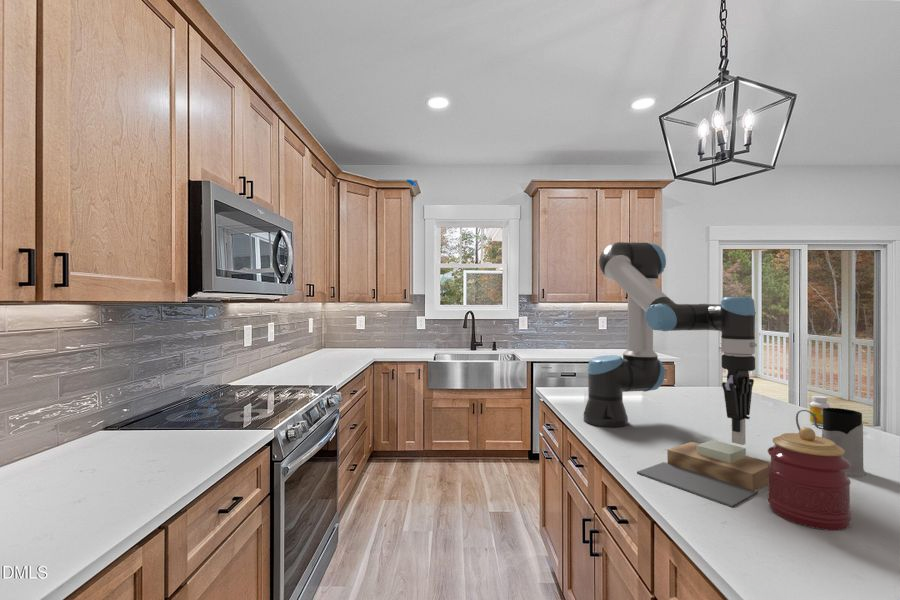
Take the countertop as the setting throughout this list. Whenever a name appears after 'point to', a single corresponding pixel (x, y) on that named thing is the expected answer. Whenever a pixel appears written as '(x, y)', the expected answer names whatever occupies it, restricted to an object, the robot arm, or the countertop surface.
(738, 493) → the mat
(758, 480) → the plate
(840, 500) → the canister
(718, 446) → the coaster
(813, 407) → the supplement bottle
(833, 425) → the glass holder
